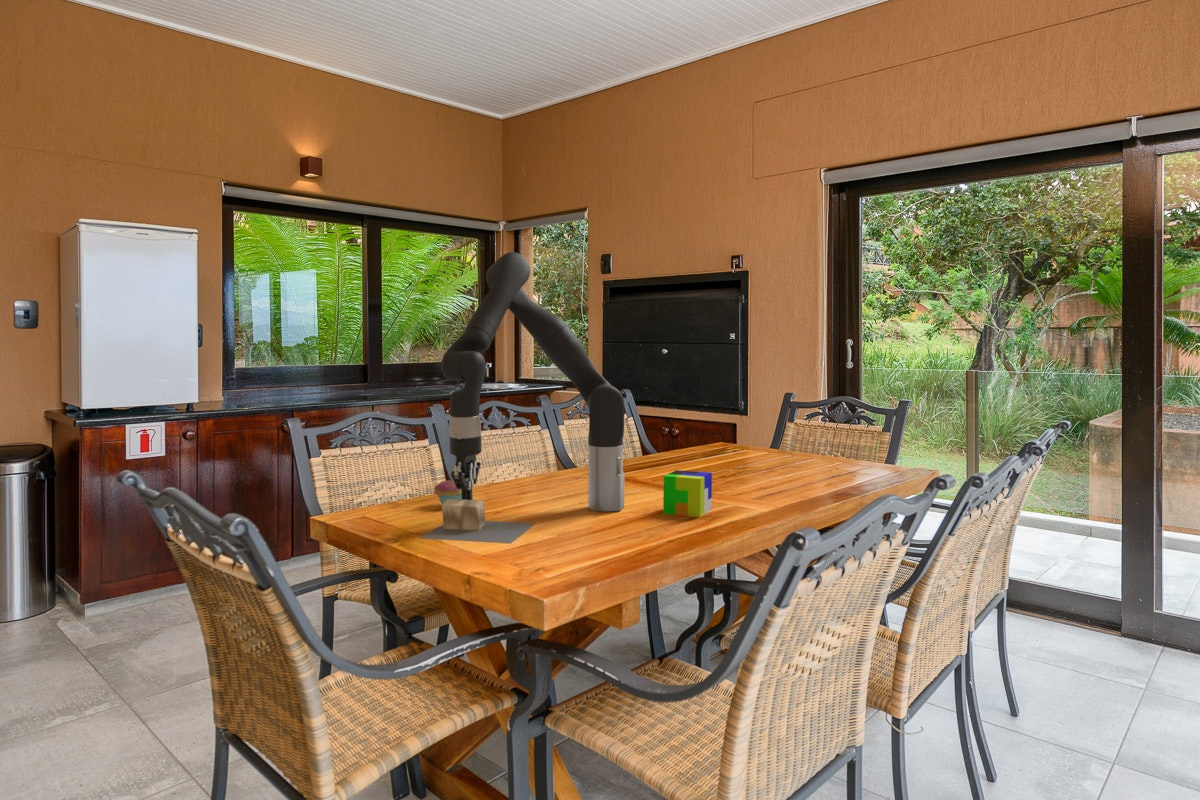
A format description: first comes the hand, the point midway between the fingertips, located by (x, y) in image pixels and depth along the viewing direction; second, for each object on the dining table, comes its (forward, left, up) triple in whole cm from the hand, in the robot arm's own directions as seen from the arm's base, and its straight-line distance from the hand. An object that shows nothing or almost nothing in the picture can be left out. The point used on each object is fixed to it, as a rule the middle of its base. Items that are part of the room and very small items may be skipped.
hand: (467, 504), depth 186 cm
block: (-5, +3, -2) cm, 6 cm away
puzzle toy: (-51, -28, -6) cm, 58 cm away
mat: (-5, +4, -5) cm, 8 cm away
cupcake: (+13, -21, -6) cm, 25 cm away
